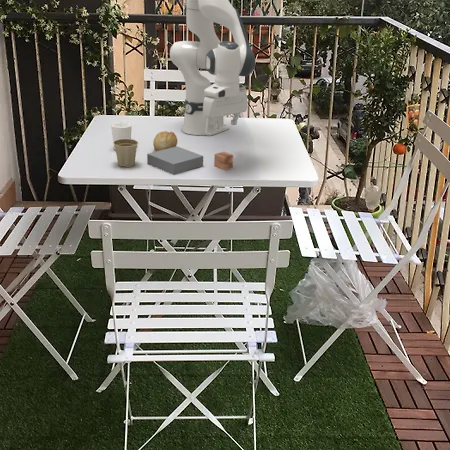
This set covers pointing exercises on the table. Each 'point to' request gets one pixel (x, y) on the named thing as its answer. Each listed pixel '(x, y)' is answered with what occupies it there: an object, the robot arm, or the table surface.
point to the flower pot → (125, 151)
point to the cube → (223, 160)
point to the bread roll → (164, 141)
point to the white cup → (121, 131)
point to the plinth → (175, 160)
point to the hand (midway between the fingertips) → (225, 126)
